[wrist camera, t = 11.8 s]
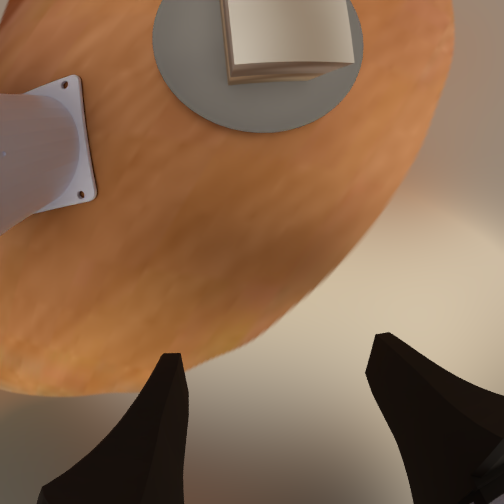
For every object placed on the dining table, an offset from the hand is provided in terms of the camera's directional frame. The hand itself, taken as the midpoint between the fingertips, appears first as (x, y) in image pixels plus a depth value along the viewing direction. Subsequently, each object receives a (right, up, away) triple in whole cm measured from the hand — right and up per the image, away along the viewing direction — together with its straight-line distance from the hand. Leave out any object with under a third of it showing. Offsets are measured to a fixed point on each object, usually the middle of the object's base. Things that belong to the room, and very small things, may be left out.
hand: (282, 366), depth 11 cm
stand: (-1, +16, +4) cm, 17 cm away
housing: (-1, +15, +2) cm, 15 cm away
